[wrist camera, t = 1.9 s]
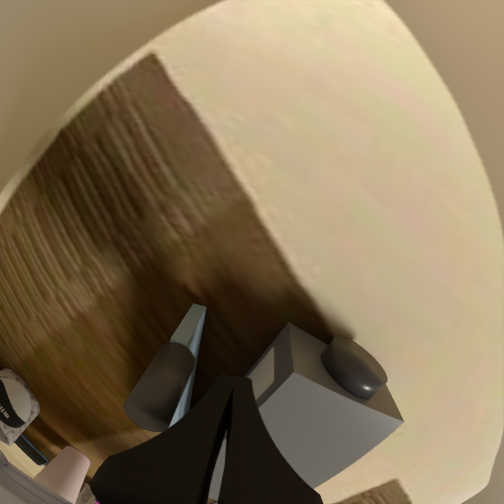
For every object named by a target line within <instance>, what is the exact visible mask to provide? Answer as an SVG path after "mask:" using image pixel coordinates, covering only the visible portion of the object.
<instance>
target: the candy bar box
mask: <svg viewBox="0 0 504 504" xmlns="http://www.w3.org/2000/svg"><path fill="white" fill-rule="evenodd" d="M89 485H90V483H84V484H83V486H82V488H81V489H80V492H79V494H78V497H77V500H76V503H75V504H99V502H98V501H97V499H96V498H95V496H94V495H93V493H92V491H91V489H90V487H89Z"/></svg>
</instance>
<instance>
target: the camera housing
mask: <svg viewBox="0 0 504 504" xmlns="http://www.w3.org/2000/svg"><path fill="white" fill-rule="evenodd" d="M243 377H244V378H250V379H251V380H252V385H253V391H254V395H255V399H256V403H257V406H258V409H259V411H260V414H261V417H262V419H263V422H264V424H265V426H266V428H267V430H268V432H269V434H270V436H271V438H272V440H273V441H274V443H275V445H276V446H277V448H278V449H279V451H280V452H281V454H282V455H283V457H284V458H285V459H286V460H287V462H288V463H289V464H290V465H291V467H292V468H293V469H294V470H295V472H296V473H297V474H298V475H299V476H300V477H301V478H302V479H303V480H304V481H305V482H306V483H307V484H308V485H309V486H310V487H311V488H313V489H314V488H316V487H317V486H319V485H321V484H322V483H324V482H326V481H327V480H329V479H330V478H332V477H334V476H335V475H337V474H338V473H340V472H341V471H343V470H344V469H346V468H347V467H348V466H350V465H351V464H353V463H354V462H356V461H357V460H358V459H360V458H361V457H362V456H364V455H365V454H366V453H368V452H369V451H370V450H372V449H373V448H374V447H376V446H377V445H378V444H379V443H381V442H382V441H383V440H384V439H385V438H387V437H388V436H389V435H390V434H391V433H393V432H394V431H395V430H396V429H397V428H398V427H399V426H401V425H402V424H403V423H404V420H403V418H402V416H401V414H400V412H399V410H398V408H397V406H396V404H395V402H394V400H393V398H392V396H391V394H390V392H389V390H388V388H387V386H386V384H385V383H386V382H387V375H386V373H385V371H384V369H383V368H382V367H381V365H380V364H379V363H378V362H377V361H376V359H375V358H374V357H373V356H372V355H371V354H369V353H368V352H367V351H366V350H365V349H364V348H362V347H361V346H360V345H358V344H357V343H355V342H354V341H352V340H350V339H348V338H346V337H343V336H336V337H335V338H334V339H333V340H332V342H331V343H330V344H329V345H327V344H326V343H324V342H322V341H320V340H319V339H317V338H315V337H313V336H312V335H310V334H308V333H307V332H305V331H303V330H302V329H300V328H298V327H296V326H295V325H293V324H291V323H290V322H288V323H287V324H286V326H285V327H284V328H283V329H282V331H281V332H280V333H279V334H278V336H277V337H276V338H275V339H274V341H273V342H272V343H271V344H270V346H269V347H268V348H267V349H266V350H265V352H264V353H263V354H262V355H261V356H260V358H259V359H258V360H257V361H256V362H255V364H254V365H253V366H252V367H251V368H250V370H249V371H248V372H247V373H246V374H245V375H244V376H243ZM226 437H227V430H226V434H225V437H224V440H223V443H222V447H221V450H220V453H219V456H218V459H217V462H216V465H215V469H214V472H213V476H212V481H211V486H210V491H209V496H208V498H210V499H213V500H216V501H218V497H219V492H220V486H221V481H222V476H223V471H224V465H225V451H226Z"/></svg>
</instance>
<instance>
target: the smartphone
mask: <svg viewBox="0 0 504 504" xmlns="http://www.w3.org/2000/svg"><path fill="white" fill-rule="evenodd" d="M14 443H15V444H16V445H17V446H18V447H19V448H20V449H21V450H22V451H23V452H24V453H25V454H26V455H27V456H29V457H30V458H31V459H32V460H33V461H34V462H35V463H36V464H37V465H40V466H41V465H44V464H47V463H49V460H48V459H47V458H46V457H45V456H44V455H43V454H42V453H41V452H40V451H39V450H38V449H36V448H35V447H34V446H33V445H32V444H31V443H30V442H29V441H28V440H27V439H26V438H25V437H24V436H23V435H22V434H20V436H19V437H18V438H17V439H16V440H15V441H14Z"/></svg>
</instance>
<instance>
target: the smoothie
mask: <svg viewBox="0 0 504 504" xmlns="http://www.w3.org/2000/svg"><path fill="white" fill-rule="evenodd" d="M89 466H90V461H89V459H88V458H87V457H86V456H85V455H84V454H83V453H81V452H80V451H78V450H77V449H75V448H73V447H71V446H66V447H65V448H64V449H63V450H62V451H61V452H60V453H59V454H58V455H57V456H56V457H55V458H54V459H53V460H52V461H51V462H50V463H49V464H48V465H47V466H46V467H45V468H44V469H43V470H42V471H41V472H40V473H39V474H38V475H37V476H36V477H35V478H34V479H33V480H35V481H36V482H38V483H39V484H41V485H43V486H44V487H46V488H47V489H49V490H51V491H52V492H54V493H56V494H57V495H59V496H61V497H63V498H64V499H66V500H68V501H70V502H72V503H73V504H75V503H76V500H77V497H78V494H79V492H80V489H81V486H82V484H83V481H84V478H85V476H86V473H87V471H88V468H89Z"/></svg>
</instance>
